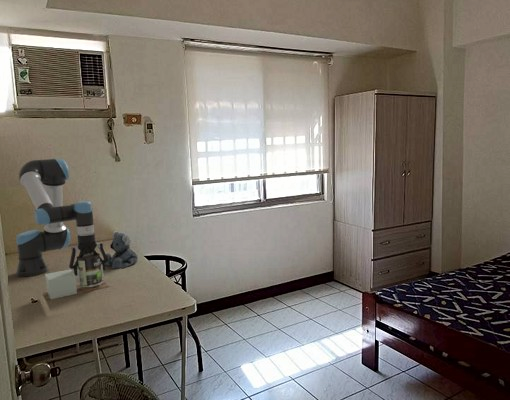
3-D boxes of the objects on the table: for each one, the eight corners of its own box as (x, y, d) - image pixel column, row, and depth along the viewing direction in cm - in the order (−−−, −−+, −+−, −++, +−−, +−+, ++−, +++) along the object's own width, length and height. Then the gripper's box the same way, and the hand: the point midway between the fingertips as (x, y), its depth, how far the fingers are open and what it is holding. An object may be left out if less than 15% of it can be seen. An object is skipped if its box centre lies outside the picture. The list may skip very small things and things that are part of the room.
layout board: (43, 295, 191) (43, 292, 190) (103, 282, 206) (102, 279, 205) (47, 304, 180) (47, 300, 180) (110, 289, 195) (109, 286, 195)
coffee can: (105, 279, 201) (103, 252, 199) (97, 287, 191) (94, 258, 189) (85, 280, 201) (82, 252, 199) (75, 287, 191) (72, 258, 189)
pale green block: (47, 292, 190) (45, 274, 189) (72, 287, 197) (70, 269, 195) (50, 299, 181) (48, 280, 180) (77, 293, 188) (75, 274, 186)
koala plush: (101, 265, 238) (98, 232, 235) (130, 258, 250) (127, 227, 248) (115, 271, 225) (112, 236, 223) (144, 263, 238) (141, 230, 235)
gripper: (61, 239, 183) (66, 286, 186) (112, 231, 196) (116, 276, 199) (58, 236, 190) (63, 282, 193) (108, 229, 202) (112, 272, 205)
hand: (90, 279), depth 196 cm, fingers closed on coffee can, 10 cm apart
